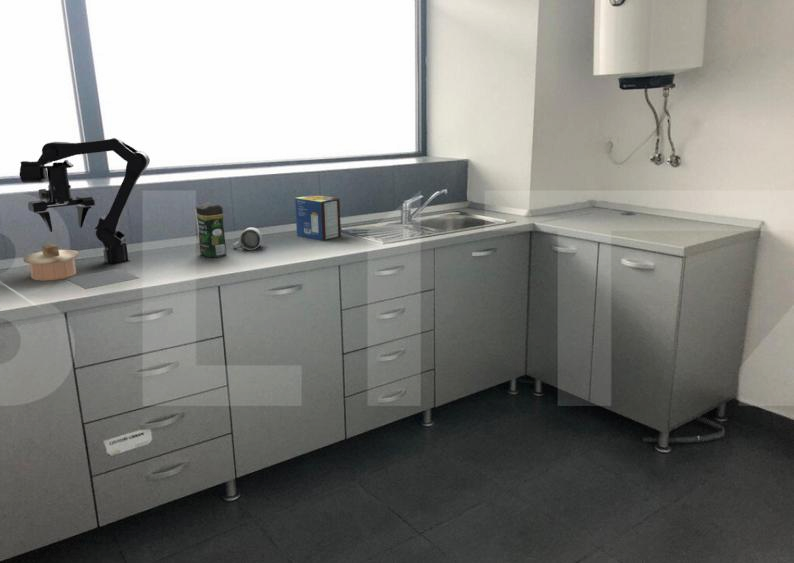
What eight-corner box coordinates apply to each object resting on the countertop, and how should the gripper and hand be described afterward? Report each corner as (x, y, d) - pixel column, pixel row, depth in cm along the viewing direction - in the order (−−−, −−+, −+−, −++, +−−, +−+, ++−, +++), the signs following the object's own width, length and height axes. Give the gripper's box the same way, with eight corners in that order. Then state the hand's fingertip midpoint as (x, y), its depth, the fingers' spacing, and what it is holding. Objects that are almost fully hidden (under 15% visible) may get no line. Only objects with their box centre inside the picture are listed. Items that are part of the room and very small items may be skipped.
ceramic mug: (263, 244, 239) (261, 224, 237) (261, 249, 231) (259, 229, 229) (234, 246, 238) (232, 226, 236) (232, 251, 230) (230, 230, 228)
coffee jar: (196, 254, 224) (191, 202, 219) (217, 251, 229) (213, 200, 224) (209, 259, 217) (204, 205, 212) (230, 255, 222) (225, 203, 217)
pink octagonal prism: (67, 269, 205) (64, 251, 203) (81, 276, 197) (78, 257, 195) (27, 276, 197) (23, 257, 195) (39, 284, 189) (36, 264, 187)
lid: (68, 249, 206) (66, 238, 204) (86, 257, 195) (84, 245, 194) (17, 257, 195) (15, 245, 194) (33, 266, 185) (30, 253, 184)
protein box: (315, 231, 262) (313, 194, 258) (341, 236, 253) (340, 198, 248) (296, 235, 255) (294, 197, 250) (322, 241, 245) (320, 201, 241)
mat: (118, 270, 204) (118, 268, 204) (140, 279, 193) (139, 277, 193) (65, 279, 193) (65, 278, 193) (85, 290, 182) (85, 288, 182)
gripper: (79, 177, 215) (86, 222, 219) (18, 182, 202) (26, 230, 206) (92, 180, 207) (98, 226, 212) (30, 185, 194) (38, 235, 199)
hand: (66, 229), depth 207 cm, fingers open, 9 cm apart
